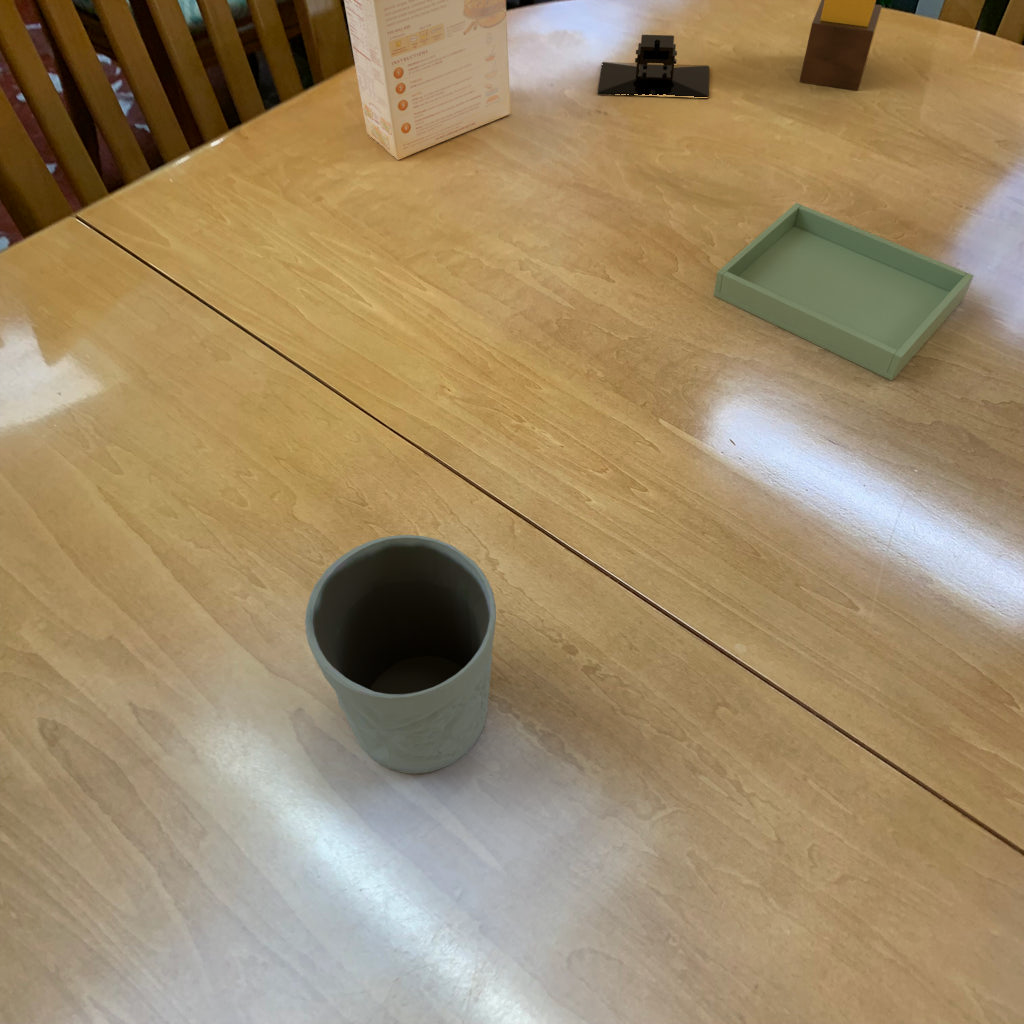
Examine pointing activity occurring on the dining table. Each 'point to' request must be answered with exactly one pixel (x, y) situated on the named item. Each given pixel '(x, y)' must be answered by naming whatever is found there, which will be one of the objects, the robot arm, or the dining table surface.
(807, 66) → the base block
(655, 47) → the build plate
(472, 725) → the grey green cup
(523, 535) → the dining table surface
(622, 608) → the dining table surface
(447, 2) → the coffeecake box
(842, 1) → the top block
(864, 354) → the tray
